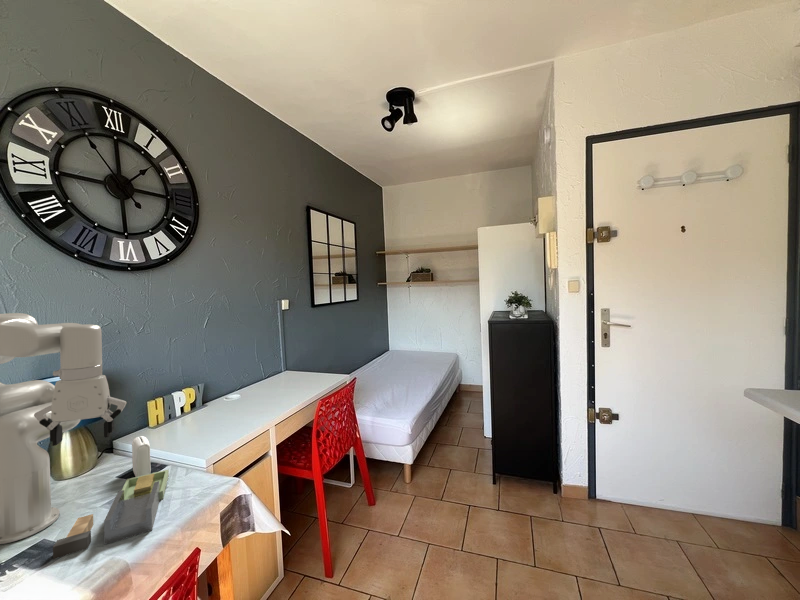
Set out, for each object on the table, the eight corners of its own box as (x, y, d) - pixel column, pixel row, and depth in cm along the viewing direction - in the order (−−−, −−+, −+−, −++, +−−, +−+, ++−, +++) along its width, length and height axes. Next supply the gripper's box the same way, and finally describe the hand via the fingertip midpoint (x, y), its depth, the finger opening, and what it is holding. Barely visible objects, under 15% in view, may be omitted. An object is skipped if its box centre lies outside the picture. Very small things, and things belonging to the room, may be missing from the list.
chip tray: (115, 512, 91) (115, 503, 91) (127, 486, 103) (126, 479, 103) (163, 499, 97) (163, 490, 97) (168, 476, 109) (168, 469, 109)
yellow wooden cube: (134, 503, 94) (133, 490, 94) (137, 496, 97) (136, 483, 97) (151, 498, 96) (150, 485, 96) (153, 491, 99) (153, 479, 99)
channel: (104, 544, 79) (103, 521, 79) (118, 512, 91) (118, 491, 91) (152, 530, 84) (151, 507, 84) (159, 500, 96) (159, 481, 96)
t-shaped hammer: (52, 547, 75) (70, 520, 84) (53, 559, 75) (70, 531, 84) (87, 537, 78) (100, 511, 87) (87, 549, 78) (100, 522, 87)
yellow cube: (135, 483, 97) (138, 477, 101) (136, 496, 97) (139, 489, 101) (152, 479, 99) (154, 473, 103) (152, 492, 99) (154, 485, 103)
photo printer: (131, 470, 113) (130, 435, 113) (146, 465, 116) (145, 431, 116) (136, 481, 106) (135, 444, 106) (152, 475, 109) (151, 440, 109)
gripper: (25, 380, 74) (26, 453, 74) (121, 372, 82) (122, 438, 82) (42, 373, 81) (44, 440, 81) (129, 366, 88) (130, 427, 89)
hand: (83, 439), depth 82 cm, fingers open, 9 cm apart
